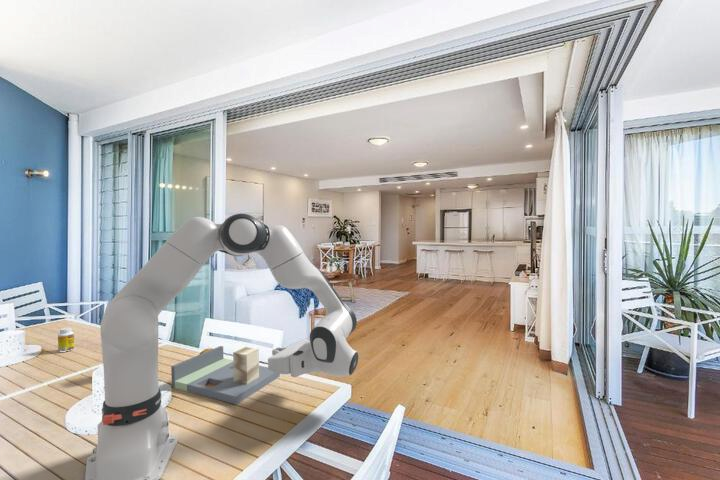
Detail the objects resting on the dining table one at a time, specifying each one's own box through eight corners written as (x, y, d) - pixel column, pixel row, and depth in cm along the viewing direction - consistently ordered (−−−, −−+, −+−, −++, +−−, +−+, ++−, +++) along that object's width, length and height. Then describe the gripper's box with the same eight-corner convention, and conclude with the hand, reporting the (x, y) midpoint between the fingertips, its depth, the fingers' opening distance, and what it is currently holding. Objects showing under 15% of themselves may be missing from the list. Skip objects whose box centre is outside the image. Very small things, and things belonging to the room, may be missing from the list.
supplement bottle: (69, 352, 152) (68, 329, 152) (55, 353, 151) (54, 330, 151) (77, 348, 158) (76, 326, 157) (63, 349, 156) (62, 327, 156)
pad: (234, 366, 134) (234, 360, 134) (187, 391, 114) (186, 384, 114) (223, 364, 137) (223, 358, 137) (174, 388, 117) (174, 381, 117)
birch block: (259, 376, 120) (258, 349, 119) (247, 384, 114) (246, 355, 114) (245, 374, 122) (245, 346, 122) (233, 381, 116) (233, 352, 116)
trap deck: (279, 376, 126) (279, 356, 125) (236, 404, 106) (236, 381, 105) (220, 364, 137) (220, 345, 137) (171, 387, 117) (171, 366, 117)
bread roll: (197, 364, 138) (197, 355, 138) (199, 356, 146) (199, 347, 146) (219, 361, 141) (218, 352, 140) (219, 354, 149) (219, 345, 149)
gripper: (325, 336, 117) (292, 332, 122) (291, 358, 98) (253, 352, 104) (326, 354, 117) (293, 349, 123) (291, 379, 98) (254, 372, 104)
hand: (274, 351), depth 113 cm, fingers closed
